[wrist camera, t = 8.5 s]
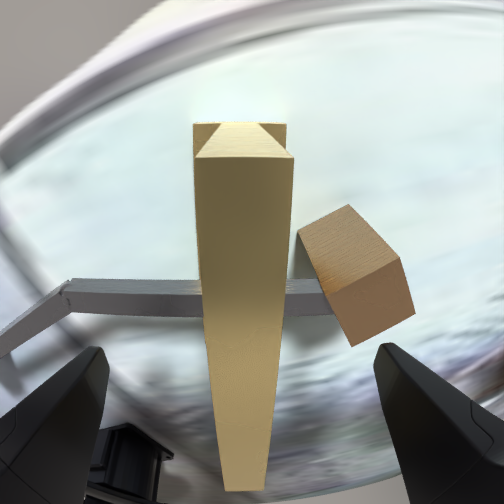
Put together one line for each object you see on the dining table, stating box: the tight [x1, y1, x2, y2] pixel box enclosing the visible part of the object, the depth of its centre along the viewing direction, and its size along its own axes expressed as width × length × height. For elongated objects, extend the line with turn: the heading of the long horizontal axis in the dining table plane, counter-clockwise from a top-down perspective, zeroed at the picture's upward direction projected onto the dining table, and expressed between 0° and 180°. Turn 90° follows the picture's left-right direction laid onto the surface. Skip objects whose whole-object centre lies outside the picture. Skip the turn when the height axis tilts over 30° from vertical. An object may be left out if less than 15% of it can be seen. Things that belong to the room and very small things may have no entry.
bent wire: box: [0, 204, 416, 358], centre depth 15 cm, size 9×30×6 cm, turn 119°
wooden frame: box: [193, 122, 294, 491], centre depth 12 cm, size 12×4×10 cm, turn 179°
